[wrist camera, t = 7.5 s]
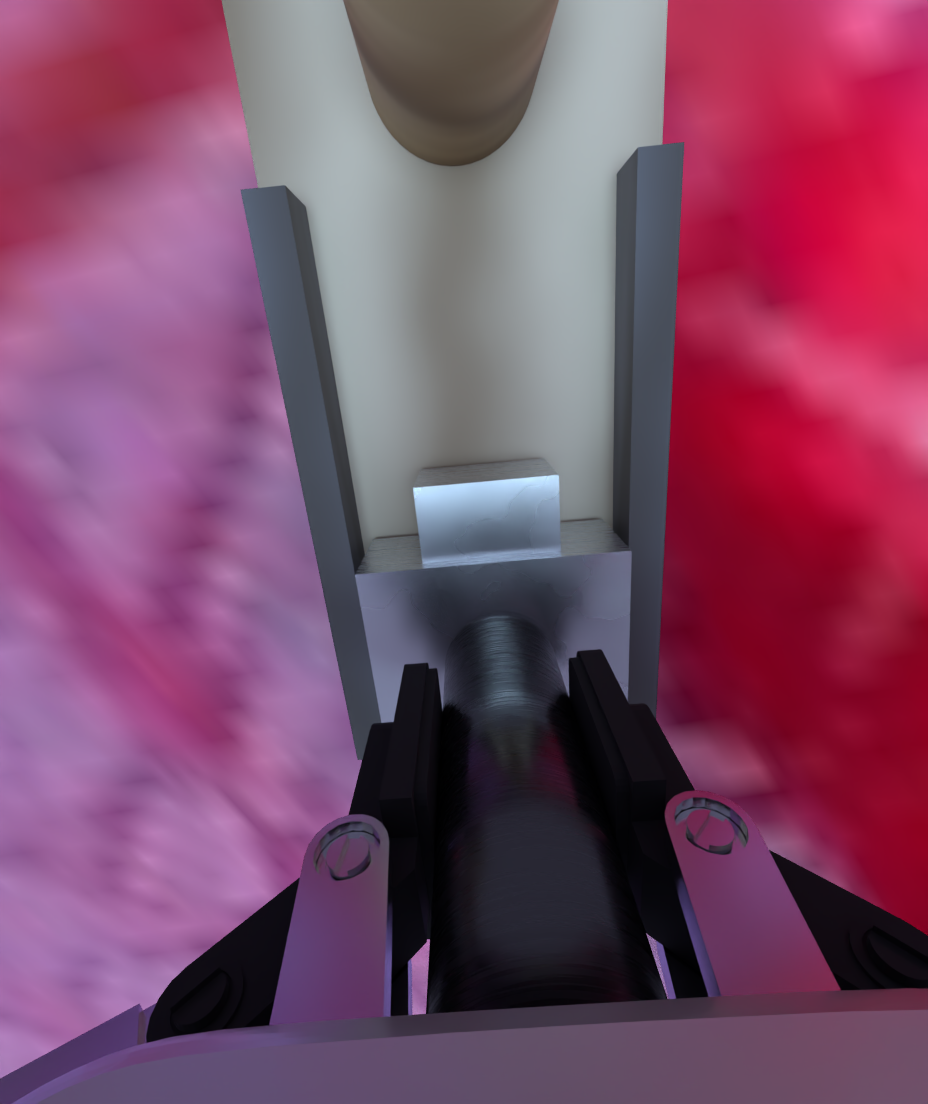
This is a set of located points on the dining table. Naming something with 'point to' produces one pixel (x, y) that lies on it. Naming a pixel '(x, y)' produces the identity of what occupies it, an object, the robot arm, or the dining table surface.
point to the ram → (512, 736)
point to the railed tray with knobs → (467, 294)
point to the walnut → (451, 70)
